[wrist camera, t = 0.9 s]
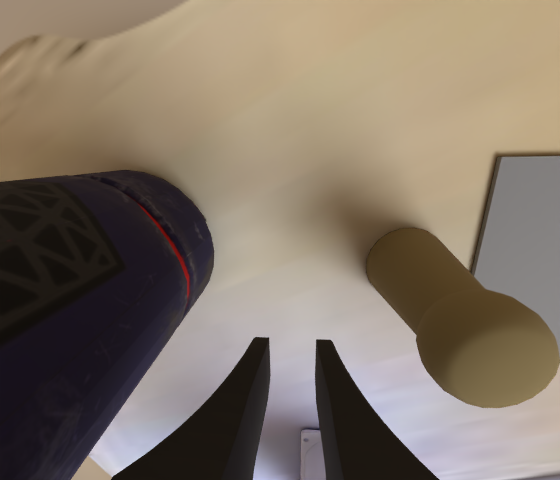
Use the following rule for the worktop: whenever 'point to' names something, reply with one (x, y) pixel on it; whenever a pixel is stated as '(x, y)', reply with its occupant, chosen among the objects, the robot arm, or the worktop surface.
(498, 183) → the mat
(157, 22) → the worktop surface
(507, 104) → the worktop surface
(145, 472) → the robot arm
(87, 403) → the grenade
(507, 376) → the cork
